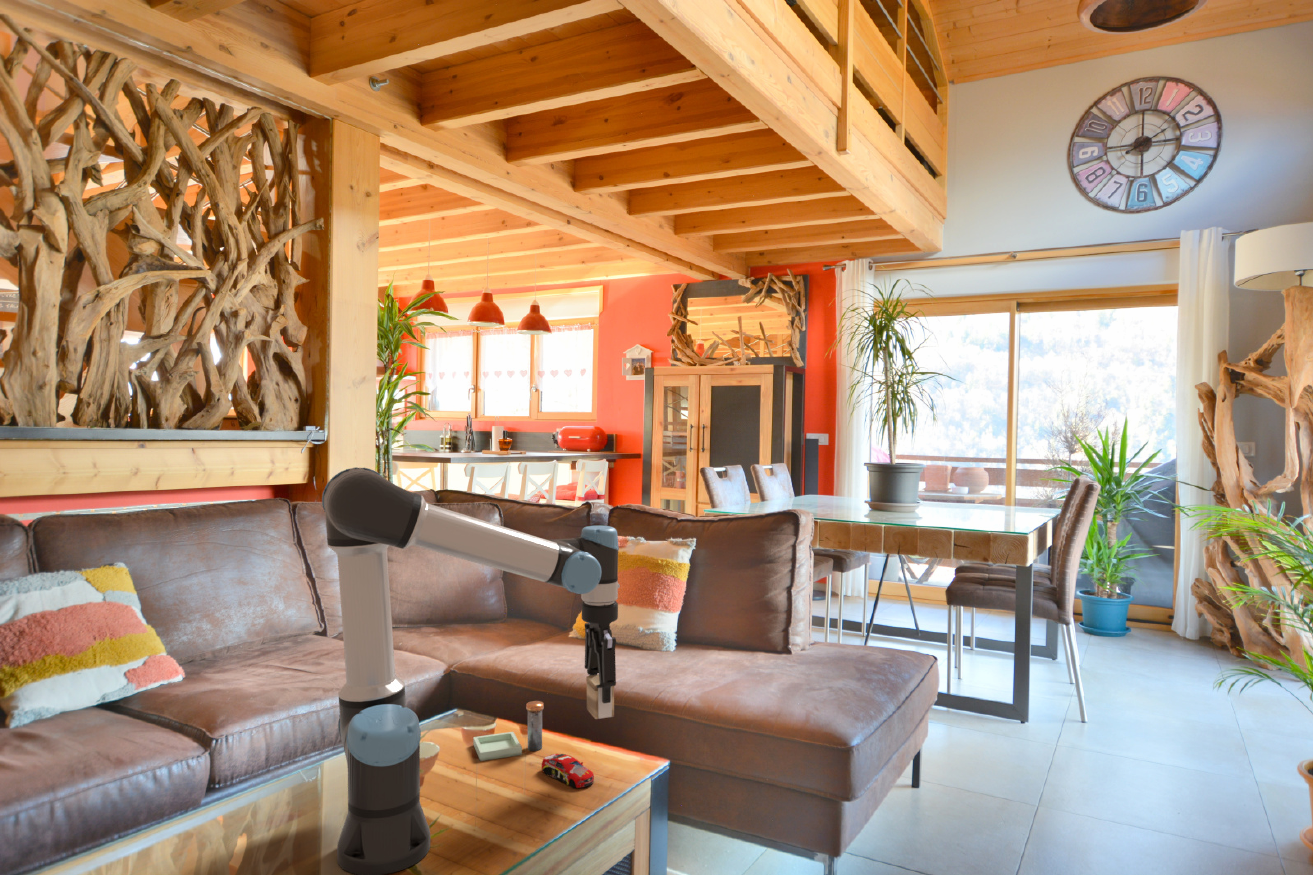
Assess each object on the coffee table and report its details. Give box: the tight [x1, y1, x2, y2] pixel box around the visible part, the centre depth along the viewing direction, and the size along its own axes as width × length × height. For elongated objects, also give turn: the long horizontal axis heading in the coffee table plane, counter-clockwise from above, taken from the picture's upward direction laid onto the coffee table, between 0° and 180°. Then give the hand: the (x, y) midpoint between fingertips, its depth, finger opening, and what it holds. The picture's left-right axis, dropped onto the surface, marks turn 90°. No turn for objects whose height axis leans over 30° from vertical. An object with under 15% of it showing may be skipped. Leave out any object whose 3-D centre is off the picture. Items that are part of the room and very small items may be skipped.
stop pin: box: [525, 700, 545, 752], centre depth 184 cm, size 4×4×10 cm
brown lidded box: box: [585, 674, 615, 720], centre depth 171 cm, size 4×6×7 cm
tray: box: [472, 731, 523, 762], centre depth 183 cm, size 9×9×2 cm
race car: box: [541, 753, 595, 789], centre depth 170 cm, size 13×5×4 cm, turn 45°
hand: (599, 711), depth 171 cm, fingers closed on brown lidded box, 6 cm apart
